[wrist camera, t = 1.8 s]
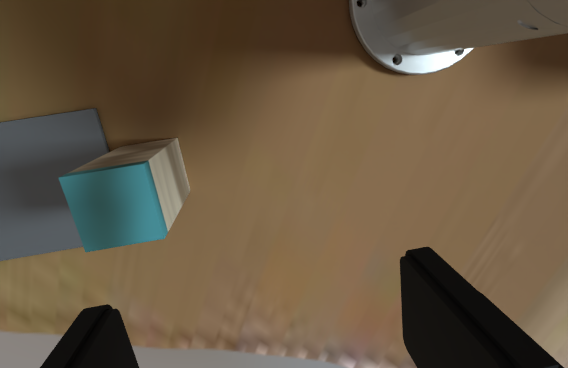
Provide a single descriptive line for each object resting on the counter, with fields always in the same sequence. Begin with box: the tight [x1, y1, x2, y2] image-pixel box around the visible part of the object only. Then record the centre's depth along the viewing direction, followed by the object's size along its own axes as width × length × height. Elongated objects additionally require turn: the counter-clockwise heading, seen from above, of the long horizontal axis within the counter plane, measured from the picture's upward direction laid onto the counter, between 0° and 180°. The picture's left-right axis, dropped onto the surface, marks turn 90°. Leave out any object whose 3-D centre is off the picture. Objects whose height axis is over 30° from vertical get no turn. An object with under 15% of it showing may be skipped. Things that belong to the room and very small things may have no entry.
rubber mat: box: [0, 108, 109, 261], centre depth 29 cm, size 14×12×1 cm
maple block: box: [59, 138, 190, 252], centre depth 25 cm, size 5×5×10 cm
